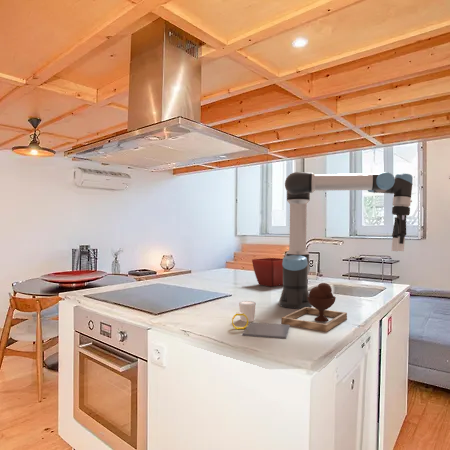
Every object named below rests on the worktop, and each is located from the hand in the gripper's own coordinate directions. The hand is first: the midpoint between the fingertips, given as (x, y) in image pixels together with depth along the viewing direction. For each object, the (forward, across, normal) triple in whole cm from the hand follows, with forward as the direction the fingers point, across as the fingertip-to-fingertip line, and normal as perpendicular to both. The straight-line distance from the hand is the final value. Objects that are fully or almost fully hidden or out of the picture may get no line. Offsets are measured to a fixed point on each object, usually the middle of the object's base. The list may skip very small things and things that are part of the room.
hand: (397, 251), depth 162 cm
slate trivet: (+35, -53, +49) cm, 81 cm away
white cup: (+35, -40, +60) cm, 80 cm away
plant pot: (+30, +47, +64) cm, 85 cm away
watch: (+36, -53, +59) cm, 88 cm away
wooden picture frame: (+32, -36, +33) cm, 58 cm away
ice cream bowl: (+32, -34, +31) cm, 56 cm away
